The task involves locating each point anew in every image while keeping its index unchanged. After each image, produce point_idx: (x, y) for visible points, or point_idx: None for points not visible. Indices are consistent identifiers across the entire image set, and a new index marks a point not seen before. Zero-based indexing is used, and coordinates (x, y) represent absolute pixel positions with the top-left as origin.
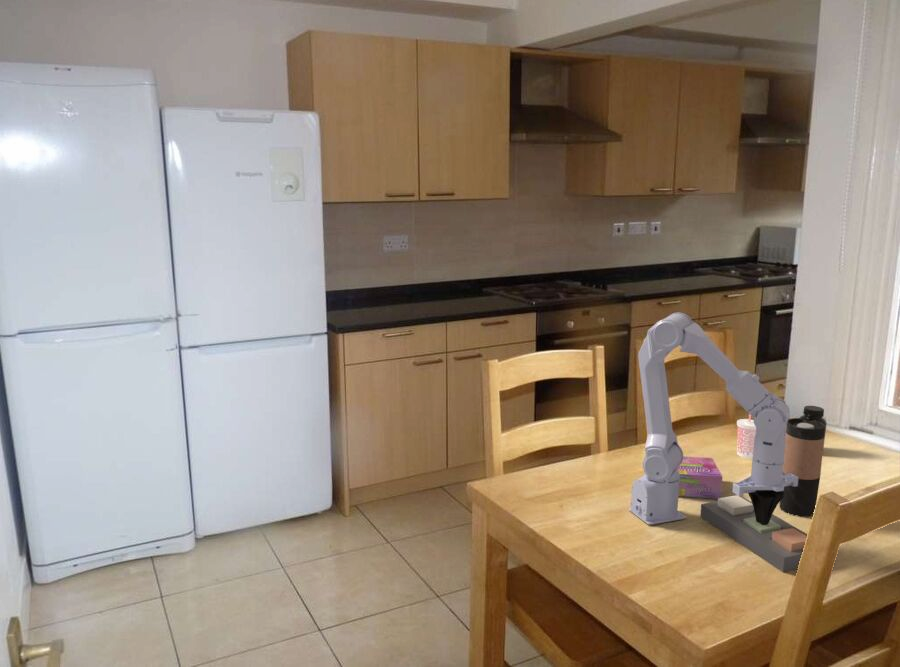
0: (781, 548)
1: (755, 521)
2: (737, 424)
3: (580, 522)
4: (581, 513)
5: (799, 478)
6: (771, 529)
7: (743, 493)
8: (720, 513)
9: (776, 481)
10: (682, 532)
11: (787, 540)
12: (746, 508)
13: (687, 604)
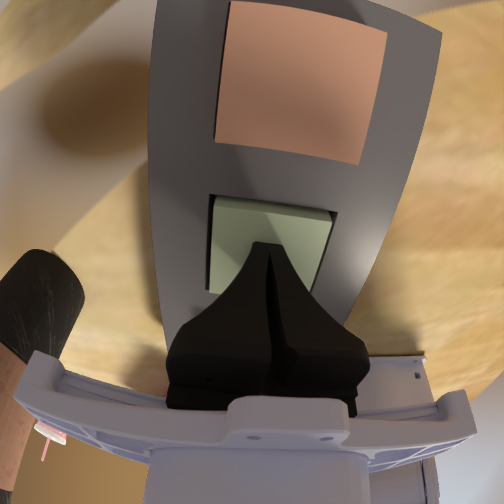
0: (390, 75)
1: None
2: (65, 441)
3: (467, 375)
4: (442, 390)
5: (12, 353)
6: (270, 209)
7: (425, 404)
8: None
9: (290, 495)
10: (410, 322)
11: (376, 64)
12: None
13: None
